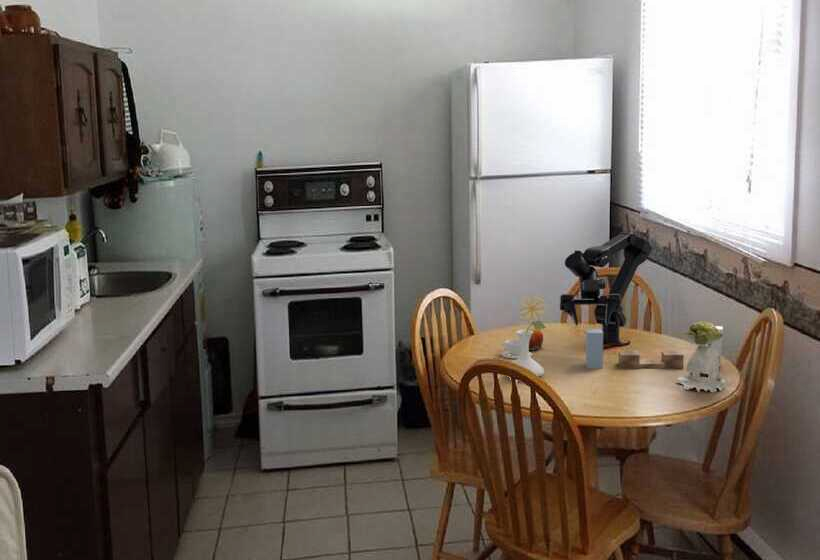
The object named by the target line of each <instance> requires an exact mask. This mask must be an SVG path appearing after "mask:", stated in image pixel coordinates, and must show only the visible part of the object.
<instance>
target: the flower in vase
mask: <svg viewBox="0 0 820 560" xmlns="http://www.w3.org/2000/svg"><path fill="white" fill-rule="evenodd" d="M546 305H547V304H546V303H545V300H544V299H543V298H541V297H539V296H536V295H531V296H527V297H526V298H523V299H521V302H520V304H519V306H518V309H517V311H518V314H519V315H520V316H519V317H520V318H521V319H522V320H524V321H528V322H529V323H530V325H529V326H527V325H526V324H524V323H522V322H520V321H518V323H519V324H520V325H522V326H524V327H526V328H527V329H519V330H516V332H515V333H516V334H517V335H518V339H519V338H520V342H521V354H520V357H519V358H518V359H515V360H514V361H513V362H514V363H516V364H518V365H520V366H523V367H525V368H527V369H529V370H531V371H532V372H534V373H535V374H537V375H538V376H540V377H542V376H543V375H544V374H545V370H544V367H543V366H542V365H541V364H540V363H538V361H535V360H534V359H533V358H532V356H530V355H529V352H530V350H529V340H530V337H531V335H532V334H533V331H531V330H529V329H531V327H532V326H533V328H535V329H537V330H543V329H546V328H547V327H546V326H545V324H544V323H543V322H542V321H540V320H541V319H542V318H544V315H545V314H546V311H547V309H548V307H547V306H546Z"/></svg>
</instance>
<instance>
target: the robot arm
mask: <svg viewBox="0 0 820 560" xmlns="http://www.w3.org/2000/svg"><path fill="white" fill-rule="evenodd" d="M622 250H623V252H622V253H623V258H624V260H623V262H622V265H621V267H620V269H619V270H618V273H617V275H616V276H615V279H614V281H613V283H612V286H611V287H610V289H609V291H608V294H606V295H601V293H600V292H601V290H605V289H606V278H605V277H600V278H599V276H600V275H599V273H598V272H597V269H596V267H597V268H605V266H607V265H608V264H609V263H610V262H611V258H612V257H613V256H614V255H616V254H617V253H619V252H620V251H622ZM651 253H652V246H651V244H650V242H649V241H648V240H645V239H644V238H642V237H639V236H638V235H636V234H635V233H633V232H630V231H627V232H626V231H621V232H619V233H618V234H617V235H615V236H614V237H613V238H611V239H609V240H608V241H605V243H603V244H601V245H598V246H591V247H589V248H586V249H585V250H584V251H583V252H582V251H581V250H577V249H575V250H574V252H573V253H570V254H569V255H568V256H567V257H566V258H565V261H564V265H565V267H566V268H567V270H569V271H570V272H571V273H572V274H573V275H574V276H575V277H577V278H578V284H579V296H580V297H576V298H575V297H574V294H573V293H562V294H561V295H560V296H559V310H560V311H563V312H564V313H567V314H568V316H570V317H569V318H571V320H572V321H573V323H574V325H575V326H576V327H578V315H577V311H576V306H579V305H580V306H583V305H584V306H585V305H586V306H595V307H594V309H593V310H594V317H595V322H596V324H601V330H602V332H603V345H621V344H623V343H622V341H621V339H620V328H621V327H623V328H624V326H625V325H626V323H627V317H626V316H625V314H624V312H623V310H624V307H623V302H622V301H623V299H624V297H625V294H626V292H627V291H628V288H629V286H630V284H631V282H632V280H633V278H634V275H635V273H636V271H637V269H638V267H639V266H640V265H642V264H644V263H645V262H646V261H647V260H648V258H649V256H650V255H651Z"/></svg>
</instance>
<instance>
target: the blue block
mask: <svg viewBox="0 0 820 560" xmlns="http://www.w3.org/2000/svg"><path fill="white" fill-rule="evenodd" d="M585 332H586V333H585V365H586V368H587V367H588V368H587V369H603V365H604V364H603V363H604V359H603V357H604V344H603V332H602V328H585Z"/></svg>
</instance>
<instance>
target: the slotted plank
mask: <svg viewBox="0 0 820 560" xmlns="http://www.w3.org/2000/svg"><path fill="white" fill-rule="evenodd" d="M640 356H641V355H640V354H639V352H638V350H618V363H617V364H618V365H619V367H620V369H628V368H629V369H650V368H651V369H657V368H658V369H661V368H662V369H663V368H664V369H668V368H669V369H670V368H671V369H679V368H680V369H683V368H684V357H685V355H684V354H683V352H682V351H681V350H661V358H659V359H652V358H651V359H650V358H649V359H646V358H645V359H640V358H641V357H640Z"/></svg>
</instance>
